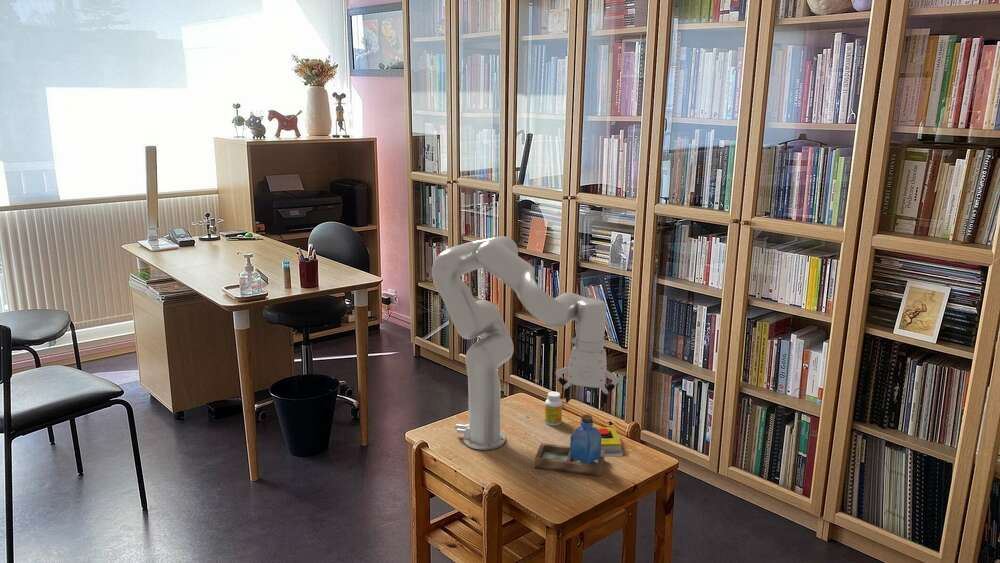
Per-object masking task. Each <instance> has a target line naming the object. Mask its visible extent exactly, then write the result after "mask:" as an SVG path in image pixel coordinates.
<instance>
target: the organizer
mask: <svg viewBox="0 0 1000 563" xmlns="http://www.w3.org/2000/svg"><path fill="white" fill-rule="evenodd" d="M604 454H605V450H601V456H600V457H598V458H597V459H596V460H594V461H593V462H591V463H590V464H587V463H584V462H581V461H579V460H576V459H573V458H571V457H570V445H563V444H562V445H560V444H554V443H553V444H552V443H545V442H540V444H539V447H538V449H537V452H536V455H535V457H534V468H533V469H534V470H543V471H548V472H549V471H550V472H557V473H564V474H573V475H581V476H588V477H596V478H601V477H602V473H603V472H602V471H603V468H604V463H605V456H604Z"/></svg>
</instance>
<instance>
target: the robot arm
mask: <svg viewBox="0 0 1000 563" xmlns="http://www.w3.org/2000/svg"><path fill="white" fill-rule="evenodd" d="M518 254H519V248H518V245H517V244H516V242H515V241H514V240H513V239H512V238H511V237H508V236H504V235H501V236H500V235H499V236H495V237H490V238H486V239H480V240H473V241H468V242H464V243H461V244H459V245H454V246H452V247H448V248H447V249H445V250H443V251H442V252H440V253H439V254H438V255H437V256H436V257H435V259H434V260H433V263H432V266H431V279H432V282H433V285H434V286H435V288H436V290H437V292H438V294H439V295H440V297H441V300H442V301H443V303H444V306H445V309H446V310H447V313H448V314H449V316H450V319H451V322H452V324H453V325H454V328H455V330H456V332H457V334H458V335H459V336H460V337H461V338H462V339H465V340H472V339H475V338H477V337H479V336H480V340H477V341H476V342H475V343H473V344H472V345H470V347H469V348H468V349H467V351H466V354H465V359H464V360H465V368H466V374H467V384H468V385H467V386H468V389H467V390H468V423H466V424H462V423H455V427H454V429H455V430H456V433H457V434H463V438H462V439H463V444H465V446H467V447H469V448H471V449H474V450H480V451H486V450H488V451H490V450H494V449H497V448H500V447H501V446H503V445H504V444H505V442H506V435H505V434H504V432H502V431H501V400H502V399H501V397H502V396H501V393H502V392H501V380H500V377H499V374H498V373H499V372H498V368H500V367H501V366H502V365H504V364H505V363H506V362H508V361H509V360H510V359H511V358H512V356H513V355H514V343H513V339H512V337H511V335H510V332H509V329H508V328H507V326H506V324H505V322H504V320H503V317H502V315H501V313H500V311H499V309H498V308H497V306H495V304H494V303H492V302H491V301H489V300H485V299H480V300H476V299H475V297H474V296H473V293H472V290H471V289H470V287H469V286H468V285H467V283H466V282H464V281H463V279H461V278H462V276H463V275H465V274H468V273H470V272H473V271H476V270H480V269H484V270H485V271H486V272H488V273H489V274H491V275H492V276H494V277H495V278H496V279H498V280H499V281H500V282H502V283H503V284H505V285H506V286H508V287H509V288H510V289H511V290H513V291H514V292H515V293H516V296H517V298H518V300H519V301H520V304H522V306H523V307H524V308H525V310H526V311H528V313H530V314H531V315H532V316H533V317H534V318H536V319H538V320H539V321H540V322H542V323H543V324H545V325H547V326H549V327H551V328H556V329H557V328H563V327H564V326H566V325H567V324H569V323H570V322H574V321H576V328H575V330H576V331H575V336H574V337H573V338H572V337H571V338H570V340H569V343H570V344H573V347H572V348H571V351H570V356H569V360H568V365H567V366H565V367H561V368H560V369H556V371H555V372H554V373H555V376H556V378H557V380H558V382H559V384H560V385H561V386H562V387H563V389H564V390H563V398H564V399H565V403H566V404H567V403H569V402H570V399H571V386H572V385H573V386H578V387H579V386H580V387H585V388H586V387H587V388H595V389H600V390H601V391H602V392H601V398H600V400H601V402H600V407H601V408H605V405H606V404H607V403H608V394H609V392H611V391H612V390H614V389H615V387H616V386H617V384H618V383H619V381H620V378H619V377H618V376H617V375H615V374H613V372H610V371H609V370H608V369H607V352H606V349H605V348H604V345H605V344H604V343H605V329H606V318H607V317H606V316H607V305H606V302H605V301H604V300H602V299H599V298H594V297H593V298H592V297H585V296H583V295H580V294H578V293H575V292H564V293H562V294H560V295H558V296H556V297H552V296H550V294H548V293H547V292H545V290H543V289H542V288H541V287H540V286H539V285H538V284H537V282H536V279H535V271H536V269H535V268H534V266H533V264H530V263H529V262H528V261H526V260H525V259H524V258H522V257H521V256H519V255H518ZM566 373H567V379H566V378H565V377H564V376H563V374H566ZM606 379H609V380H611V381H612V382H610V383H609V384H607V383H606Z"/></svg>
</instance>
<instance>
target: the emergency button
mask: <svg viewBox="0 0 1000 563" xmlns="http://www.w3.org/2000/svg"><path fill="white" fill-rule="evenodd" d="M596 428H597V429H598V431H599V432H600V434H601V436H602V438H601V450H605V454H604V457H623V455H624V453H623V451H622V441H621V439H620V437H619V435H618V433H617V429H616V428H615V427H612V426H609V427H608V426H607V427H606V426H605V427H604V426H603V427H602V426H600V427H599V426H597V427H596Z"/></svg>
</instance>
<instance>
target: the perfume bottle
mask: <svg viewBox="0 0 1000 563" xmlns="http://www.w3.org/2000/svg"><path fill="white" fill-rule="evenodd" d="M593 417H594V416H592V415H590V414H582V415H581V419H580V426H578V427H576V428H575V430H574V431H573V433H572V434H571V435H570V441H569V442H570V445H569V446H570V457H571V458H573V459H576V460H579V461H581V462H584V463H587V464H590V463H591V462H593V461H594V460H596V459H597V458H598V457H600V456H601V438H602V436H601V434H600V432H599V431H598V429H597V428H596V427H595V426H594V420H593Z"/></svg>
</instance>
